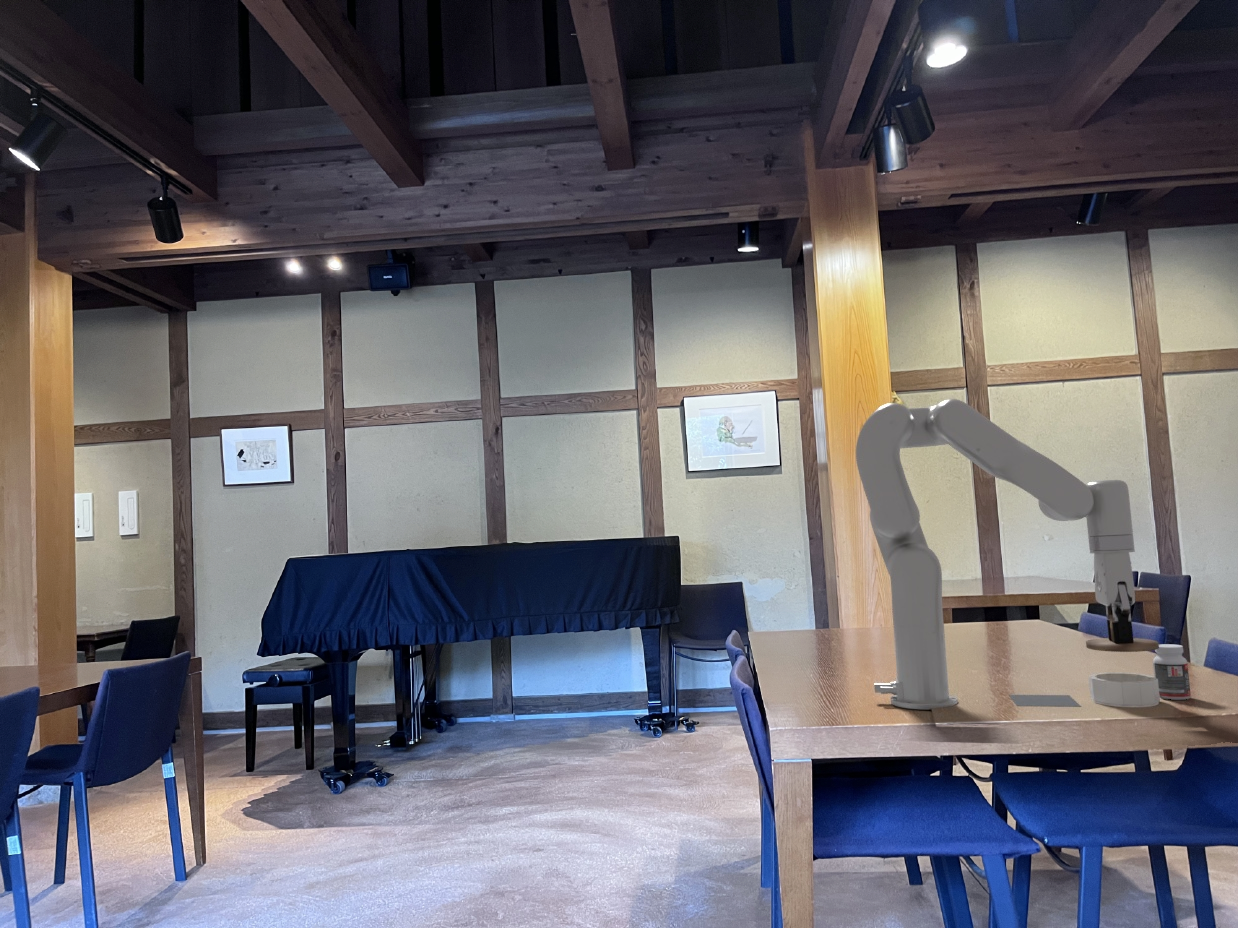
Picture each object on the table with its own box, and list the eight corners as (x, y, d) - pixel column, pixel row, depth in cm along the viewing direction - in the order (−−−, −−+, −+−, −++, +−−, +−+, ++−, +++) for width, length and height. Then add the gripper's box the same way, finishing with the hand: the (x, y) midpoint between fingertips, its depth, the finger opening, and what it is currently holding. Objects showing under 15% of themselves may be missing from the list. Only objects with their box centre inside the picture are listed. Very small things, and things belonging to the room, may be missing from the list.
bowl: (1099, 709, 162) (1097, 682, 163) (1086, 698, 173) (1084, 672, 173) (1167, 710, 159) (1164, 682, 160) (1149, 698, 170) (1147, 672, 170)
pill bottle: (1196, 700, 167) (1191, 647, 167) (1163, 700, 168) (1158, 647, 169) (1183, 694, 172) (1178, 643, 173) (1151, 695, 173) (1146, 643, 174)
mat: (1017, 708, 166) (1016, 705, 166) (1009, 697, 177) (1008, 694, 177) (1081, 709, 163) (1081, 706, 163) (1069, 698, 174) (1069, 695, 174)
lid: (1094, 652, 163) (1091, 619, 163) (1080, 643, 174) (1077, 612, 175) (1167, 651, 159) (1164, 617, 160) (1148, 642, 171) (1145, 611, 171)
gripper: (1080, 544, 177) (1089, 637, 176) (1099, 547, 162) (1109, 648, 160) (1122, 542, 175) (1131, 636, 174) (1145, 545, 160) (1156, 647, 158)
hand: (1121, 641), depth 167 cm, fingers closed on lid, 3 cm apart
